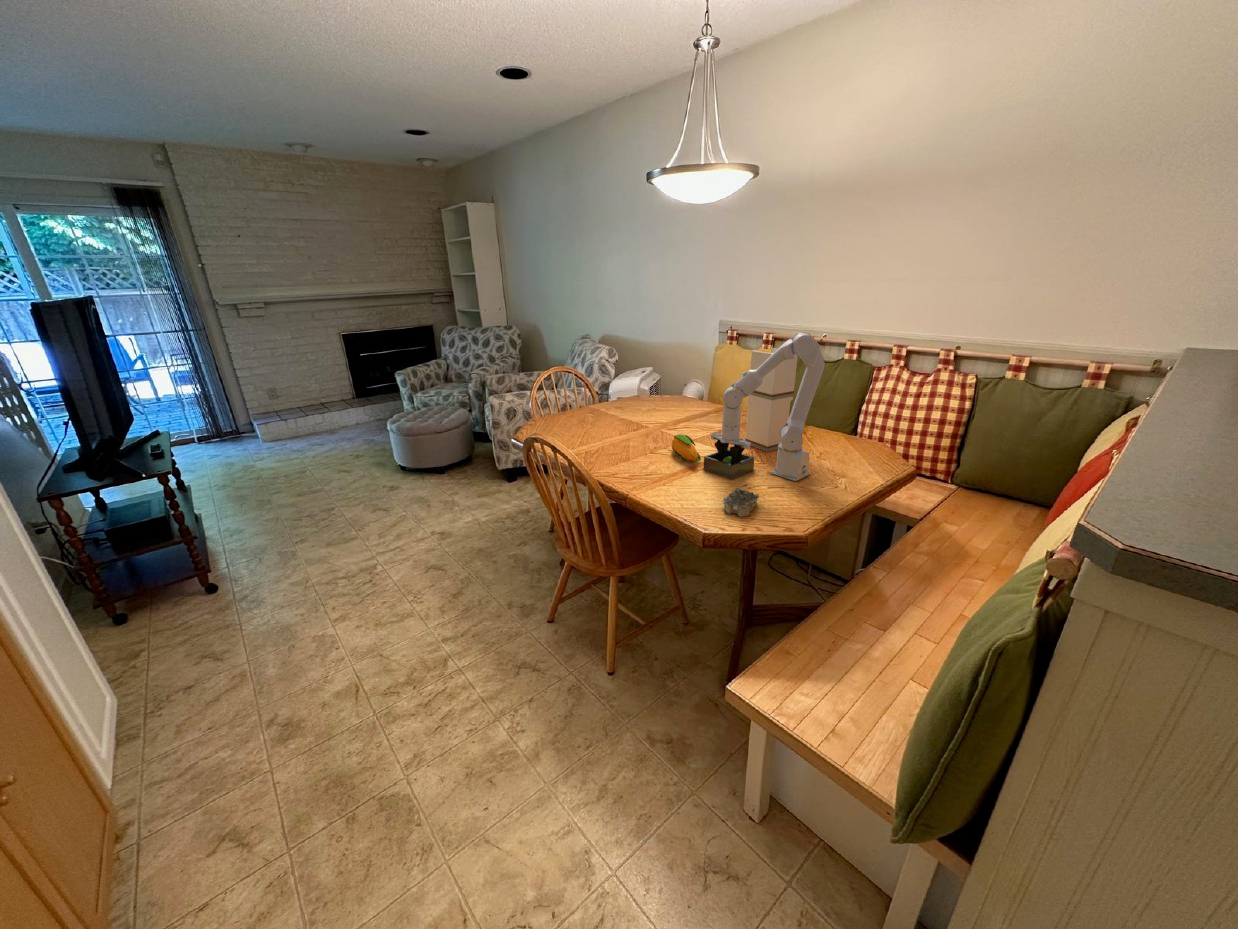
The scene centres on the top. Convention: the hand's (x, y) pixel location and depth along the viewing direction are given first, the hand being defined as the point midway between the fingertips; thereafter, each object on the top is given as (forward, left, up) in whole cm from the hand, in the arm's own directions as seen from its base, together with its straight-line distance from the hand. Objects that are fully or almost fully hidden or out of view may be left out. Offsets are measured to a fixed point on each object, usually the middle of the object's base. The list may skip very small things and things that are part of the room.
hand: (728, 464), depth 158 cm
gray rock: (-20, +20, -2) cm, 28 cm away
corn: (+17, +2, -2) cm, 17 cm away
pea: (0, 0, -1) cm, 1 cm away
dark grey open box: (0, 0, -2) cm, 2 cm away
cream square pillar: (+6, -30, -2) cm, 31 cm away
